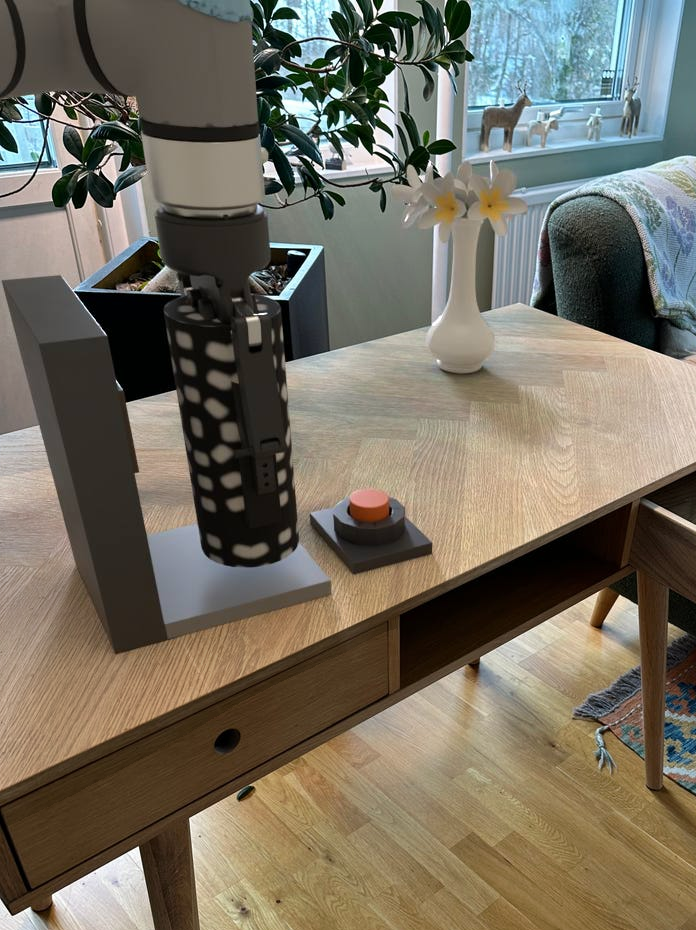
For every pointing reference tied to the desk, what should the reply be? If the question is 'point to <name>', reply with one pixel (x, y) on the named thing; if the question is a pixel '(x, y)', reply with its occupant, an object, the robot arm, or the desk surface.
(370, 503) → the button
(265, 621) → the desk surface
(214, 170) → the robot arm
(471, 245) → the flower vase
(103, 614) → the grey l-shaped bookend
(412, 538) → the pad
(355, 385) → the desk surface
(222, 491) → the white-spotted black cylinder
